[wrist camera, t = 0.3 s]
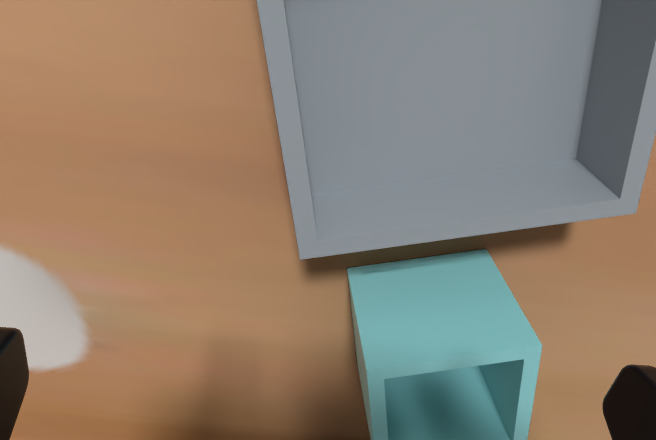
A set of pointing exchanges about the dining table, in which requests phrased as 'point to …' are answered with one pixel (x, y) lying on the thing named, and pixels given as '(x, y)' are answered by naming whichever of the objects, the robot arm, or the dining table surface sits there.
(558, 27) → the big crate
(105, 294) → the dining table surface
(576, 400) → the dining table surface
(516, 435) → the small crate
